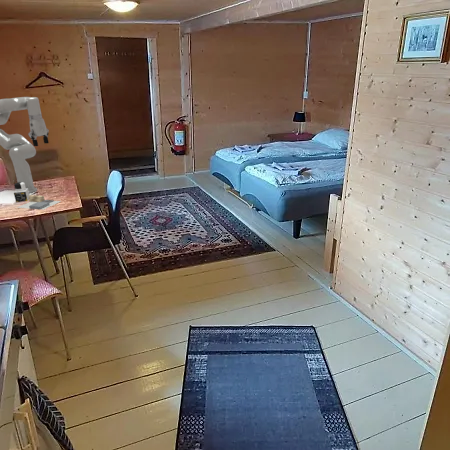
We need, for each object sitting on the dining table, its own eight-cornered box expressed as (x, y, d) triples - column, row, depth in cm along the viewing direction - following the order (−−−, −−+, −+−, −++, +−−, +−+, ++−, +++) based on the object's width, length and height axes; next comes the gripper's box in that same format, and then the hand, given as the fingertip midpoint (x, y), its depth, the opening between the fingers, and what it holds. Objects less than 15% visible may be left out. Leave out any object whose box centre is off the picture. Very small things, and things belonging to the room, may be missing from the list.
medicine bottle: (16, 203, 259) (11, 184, 255) (18, 199, 266) (14, 182, 261) (27, 201, 260) (23, 183, 256) (30, 198, 267) (26, 180, 262)
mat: (16, 208, 248) (16, 207, 248) (35, 200, 262) (35, 199, 262) (43, 210, 242) (43, 209, 242) (61, 202, 256) (61, 201, 256)
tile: (29, 205, 244) (39, 206, 242) (38, 201, 251) (49, 202, 249) (29, 208, 245) (40, 209, 243) (39, 204, 252) (49, 205, 250)
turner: (28, 202, 258) (26, 196, 256) (33, 199, 262) (32, 194, 261) (48, 203, 253) (47, 198, 251) (54, 201, 257) (53, 195, 256)
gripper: (30, 119, 248) (36, 147, 255) (49, 115, 264) (55, 142, 270) (20, 119, 251) (26, 147, 257) (40, 116, 266) (45, 142, 272)
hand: (41, 144), depth 263 cm, fingers open, 9 cm apart
